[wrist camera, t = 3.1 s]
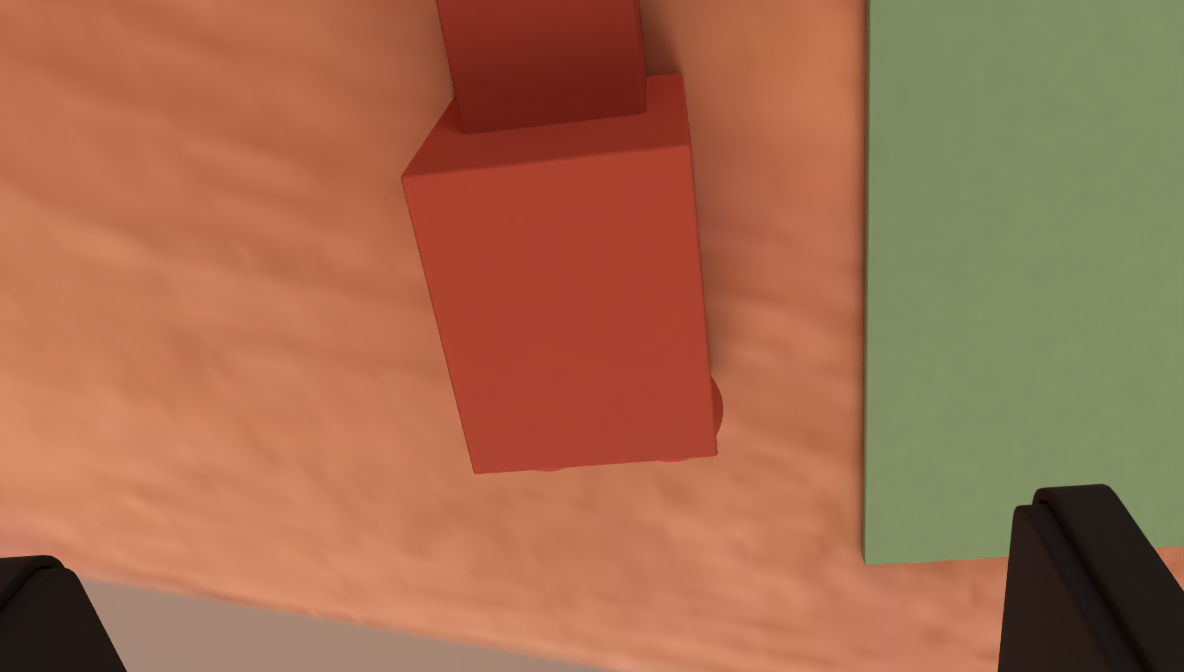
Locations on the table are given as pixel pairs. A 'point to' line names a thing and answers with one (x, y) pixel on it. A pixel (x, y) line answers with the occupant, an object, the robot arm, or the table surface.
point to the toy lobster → (564, 241)
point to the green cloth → (1020, 267)
